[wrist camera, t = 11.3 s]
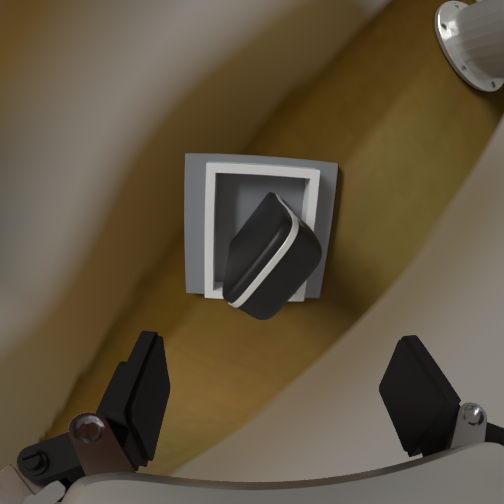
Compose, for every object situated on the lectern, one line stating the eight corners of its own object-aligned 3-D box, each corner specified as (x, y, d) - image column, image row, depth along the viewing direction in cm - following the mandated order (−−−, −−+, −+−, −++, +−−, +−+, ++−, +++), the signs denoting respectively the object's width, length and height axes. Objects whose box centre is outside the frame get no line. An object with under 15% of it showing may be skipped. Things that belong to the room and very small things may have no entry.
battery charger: (258, 267, 29) (266, 338, 19) (226, 246, 28) (216, 309, 18) (303, 212, 27) (339, 257, 17) (271, 187, 26) (289, 218, 16)
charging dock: (334, 162, 27) (345, 165, 24) (317, 293, 32) (323, 307, 29) (187, 153, 26) (180, 154, 23) (187, 288, 31) (182, 302, 28)
